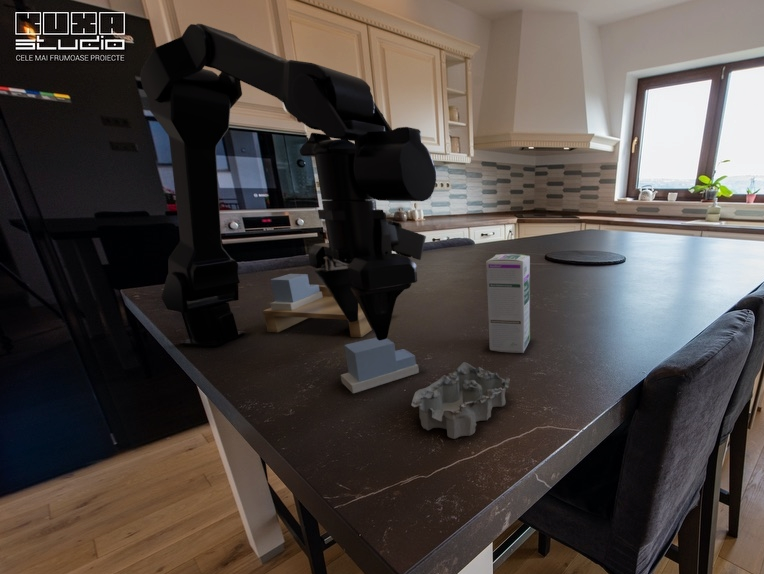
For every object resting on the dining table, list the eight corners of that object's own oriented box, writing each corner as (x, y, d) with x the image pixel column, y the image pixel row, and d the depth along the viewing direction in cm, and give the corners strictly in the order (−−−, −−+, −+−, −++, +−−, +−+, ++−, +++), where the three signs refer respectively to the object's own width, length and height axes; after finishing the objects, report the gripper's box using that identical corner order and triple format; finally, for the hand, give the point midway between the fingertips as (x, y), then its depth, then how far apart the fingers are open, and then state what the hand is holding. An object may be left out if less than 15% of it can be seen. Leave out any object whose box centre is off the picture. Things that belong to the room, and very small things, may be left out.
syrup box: (524, 353, 61) (525, 260, 56) (487, 351, 62) (485, 258, 57) (530, 341, 67) (531, 254, 61) (496, 338, 68) (494, 253, 62)
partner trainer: (291, 310, 69) (285, 281, 68) (271, 309, 70) (264, 280, 68) (323, 297, 78) (318, 271, 76) (304, 296, 78) (299, 270, 77)
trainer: (353, 393, 49) (346, 355, 47) (341, 382, 52) (335, 346, 50) (419, 372, 55) (415, 338, 53) (405, 364, 58) (402, 330, 56)
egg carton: (462, 446, 39) (459, 410, 38) (407, 424, 43) (403, 391, 41) (516, 399, 48) (516, 369, 46) (466, 385, 51) (464, 356, 50)
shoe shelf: (267, 332, 71) (260, 299, 69) (309, 312, 82) (304, 284, 80) (361, 337, 68) (356, 303, 66) (391, 316, 79) (388, 287, 77)
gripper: (454, 201, 43) (460, 334, 49) (381, 198, 56) (393, 303, 62) (352, 202, 36) (373, 358, 42) (297, 199, 49) (318, 317, 55)
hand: (366, 329), depth 50 cm, fingers open, 9 cm apart
